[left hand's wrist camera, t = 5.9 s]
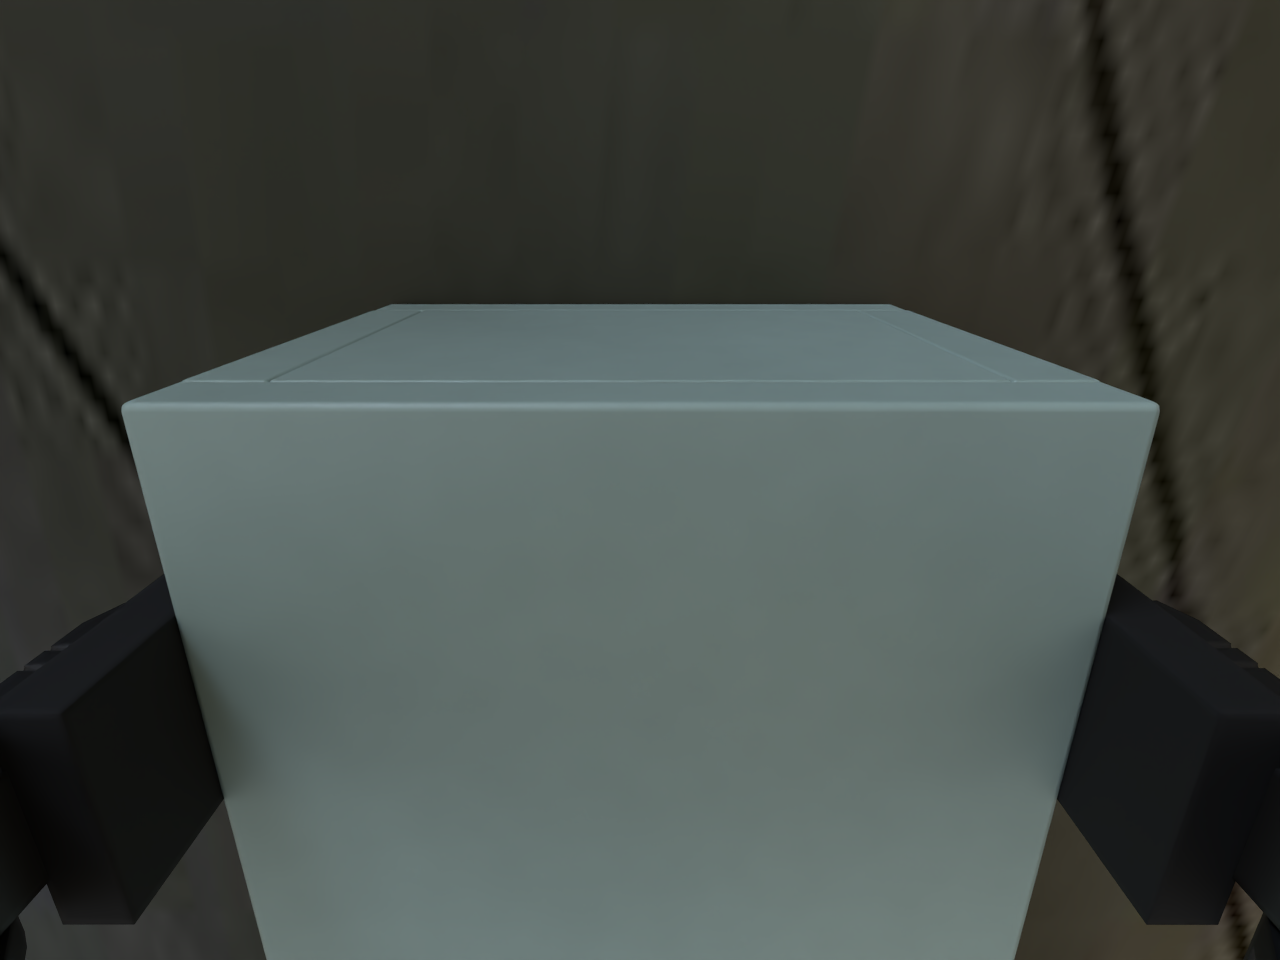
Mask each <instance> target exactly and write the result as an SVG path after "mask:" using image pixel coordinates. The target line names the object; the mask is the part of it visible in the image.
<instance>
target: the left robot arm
mask: <svg viewBox="0 0 1280 960" xmlns="http://www.w3.org/2000/svg"><path fill="white" fill-rule="evenodd" d="M24 667H25V668H24V671H17V672H15V673H14V674H13V675H11V676H10V677H9V678H7V679H6V680H5V681H3V682H2V683H0V960H25V955H26V949H27V944H26V938H25V931H24V929H23V926H22V924H21V922H20V919H19V917H18V915H19V914H20V913H21V912H22V911H23V910H24V909H25V907H26V906H27V905H28V904H29V903H30V902H31V901H32V900H33V898H34V897H35V896H36V895H37V894H38V893H39V892H40V890H41V889H42V888H43V887H44V886H45V885H46V884H47V885H48V888H49V891H50V893H51V896H52V898H53V901H54V903H55V906H56V908H57V911H58V913H59V916H60V918H61V921H62V923H63V924H135V923H136V921H137V920H138V918H139V917H140V916H141V914H142V913H143V911H144V910H145V909H146V907H147V906H148V904H149V903H150V902H151V900H152V899H153V897H154V896H155V895H156V893H157V892H158V890H159V889H160V888H161V886H162V885H163V883H164V882H165V881H166V879H167V878H168V876H169V875H170V873H171V872H172V871H173V869H174V868H175V866H176V865H177V864H178V862H179V861H180V859H181V858H182V857H183V855H184V854H185V852H186V851H187V850H188V848H189V847H190V845H191V844H192V843H193V841H194V840H195V838H196V837H197V836H198V834H199V833H200V831H201V830H202V828H203V827H204V826H205V824H206V823H207V821H208V820H209V819H210V817H211V816H212V814H213V813H214V812H215V810H216V809H217V807H218V806H219V805H220V803H221V802H222V800H223V799H224V796H223V793H222V789H221V785H220V781H219V778H218V774H217V770H216V766H215V763H214V759H213V755H212V751H211V747H210V744H209V740H208V736H207V732H206V729H205V725H204V721H203V717H202V714H201V710H200V706H199V702H198V698H197V695H196V691H195V687H194V683H193V680H192V676H191V672H190V668H189V664H188V661H187V657H186V653H185V649H184V646H183V642H182V638H181V634H180V631H179V627H178V623H177V619H176V615H175V612H174V608H173V604H172V600H171V597H170V593H169V589H168V585H167V582H166V578H165V574H163V575H162V576H161V577H159V578H158V579H157V580H155V581H154V582H153V583H151V584H150V585H149V586H147V587H146V588H145V589H143V590H142V591H141V592H139V593H138V594H137V595H135V596H134V597H133V598H131V599H130V600H129V601H128V602H126V603H124V604H122V605H120V606H117V607H115V608H113V609H111V610H109V611H107V612H105V613H103V614H101V615H98V616H96V617H94V618H92V619H90V620H88V621H86V622H84V623H82V624H81V625H79V626H78V627H77V628H75V629H74V630H73V631H71V632H70V633H69V634H67V635H66V636H64V637H63V638H62V639H60V640H59V641H58V642H56V643H55V644H54V645H52V646H51V651H44V652H43V653H41V654H40V655H39V656H37V657H36V658H34V659H33V660H32V661H30V662H29V663H28V664H26V665H25V666H24ZM1057 799H1058V801H1059V802H1060V803H1061V805H1062V806H1063V808H1064V809H1065V811H1066V812H1067V813H1068V815H1069V816H1070V818H1071V819H1072V820H1073V822H1074V823H1075V825H1076V826H1077V827H1078V829H1079V830H1080V832H1081V833H1082V834H1083V836H1084V837H1085V839H1086V840H1087V841H1088V843H1089V844H1090V846H1091V847H1092V848H1093V850H1094V851H1095V853H1096V854H1097V855H1098V857H1099V858H1100V860H1101V861H1102V863H1103V864H1104V865H1105V867H1106V868H1107V870H1108V871H1109V872H1110V874H1111V875H1112V877H1113V878H1114V879H1115V881H1116V882H1117V884H1118V885H1119V886H1120V888H1121V889H1122V891H1123V892H1124V893H1125V895H1126V896H1127V898H1128V899H1129V900H1130V902H1131V903H1132V905H1133V906H1134V907H1135V909H1136V910H1137V912H1138V913H1139V915H1140V916H1141V917H1142V919H1143V920H1144V922H1145V923H1146V924H1147V925H1218V924H1219V921H1220V918H1221V916H1222V913H1223V911H1224V908H1225V906H1226V903H1227V901H1228V898H1229V896H1230V893H1231V891H1232V888H1233V886H1234V883H1235V881H1236V882H1237V883H1238V884H1239V885H1240V886H1241V888H1242V889H1243V890H1244V891H1245V892H1246V893H1247V894H1248V895H1249V896H1250V898H1251V899H1252V900H1253V901H1254V902H1255V903H1256V904H1257V905H1258V907H1259V908H1260V909H1261V910H1262V911H1263V915H1262V917H1261V919H1260V922H1259V924H1258V926H1257V929H1256V931H1255V934H1254V936H1253V938H1252V941H1251V943H1250V945H1249V948H1248V950H1247V952H1246V955H1245V957H1244V959H1243V960H1280V679H1279V678H1277V677H1276V676H1275V675H1273V674H1272V673H1270V672H1269V671H1268V670H1266V669H1265V668H1258V663H1257V662H1255V661H1254V660H1253V659H1251V658H1250V657H1249V656H1247V655H1246V654H1244V653H1243V652H1242V651H1240V650H1239V649H1238V648H1231V643H1229V642H1228V641H1227V640H1225V639H1224V638H1222V637H1221V636H1220V635H1218V634H1217V633H1216V632H1214V631H1213V630H1211V629H1210V628H1209V627H1207V626H1206V625H1205V624H1203V623H1202V622H1200V621H1199V620H1197V619H1195V618H1193V617H1191V616H1189V615H1187V614H1184V613H1182V612H1180V611H1178V610H1176V609H1174V608H1172V607H1170V606H1167V605H1165V604H1163V603H1161V602H1159V601H1152V600H1151V599H1149V598H1148V597H1147V596H1145V595H1144V594H1143V593H1141V592H1140V591H1139V590H1137V589H1136V588H1135V587H1134V586H1132V585H1131V584H1130V583H1128V582H1127V581H1126V580H1124V579H1123V578H1122V577H1120V576H1119V575H1118V574H1117V575H1116V578H1115V582H1114V586H1113V590H1112V594H1111V597H1110V601H1109V605H1108V609H1107V612H1106V616H1105V620H1104V624H1103V627H1102V631H1101V635H1100V639H1099V642H1098V646H1097V650H1096V654H1095V658H1094V661H1093V665H1092V669H1091V673H1090V676H1089V680H1088V684H1087V688H1086V691H1085V695H1084V699H1083V703H1082V706H1081V710H1080V714H1079V718H1078V721H1077V725H1076V729H1075V733H1074V737H1073V740H1072V744H1071V748H1070V752H1069V755H1068V759H1067V763H1066V767H1065V770H1064V774H1063V778H1062V782H1061V785H1060V789H1059V793H1058V797H1057Z"/></svg>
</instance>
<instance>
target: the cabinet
mask: <svg viewBox="0 0 1280 960" xmlns="http://www.w3.org/2000/svg"><path fill="white" fill-rule="evenodd" d="M1159 413H1160V409H1159V405H1158V404H1157V403H1155V402H1153V401H1150V400H1148V399H1145V398H1142V397H1140V396H1137V395H1134V394H1131V393H1129V392H1126V391H1123V390H1121V389H1118V388H1115V387H1112V386H1110V385H1107V384H1104V383H1102V382H1100V381H1099V380H1096V379H1094V378H1091V377H1088V376H1086V375H1083V374H1080V373H1077V372H1075V371H1072V370H1069V369H1067V368H1064V367H1061V366H1058V365H1056V364H1053V363H1050V362H1047V361H1045V360H1042V359H1039V358H1036V357H1034V356H1031V355H1028V354H1026V353H1023V352H1020V351H1017V350H1015V349H1012V348H1009V347H1006V346H1004V345H1001V344H998V343H995V342H993V341H990V340H987V339H985V338H982V337H979V336H976V335H974V334H971V333H968V332H965V331H963V330H960V329H957V328H955V327H952V326H949V325H946V324H944V323H941V322H938V321H935V320H933V319H930V318H927V317H924V316H922V315H919V314H916V313H914V312H911V311H908V310H904V309H901V308H898V307H895V306H893V305H890V304H391V305H388V306H385V307H383V308H380V309H377V310H373V311H370V312H368V313H365V314H362V315H359V316H357V317H354V318H351V319H349V320H346V321H343V322H340V323H338V324H335V325H332V326H329V327H327V328H324V329H321V330H319V331H316V332H313V333H310V334H308V335H305V336H302V337H299V338H297V339H294V340H291V341H289V342H286V343H283V344H280V345H278V346H275V347H272V348H269V349H267V350H264V351H261V352H259V353H256V354H253V355H250V356H248V357H245V358H242V359H239V360H237V361H234V362H231V363H229V364H226V365H223V366H220V367H218V368H215V369H212V370H209V371H207V372H204V373H201V374H199V375H196V376H193V377H190V378H188V379H185V380H183V381H182V382H179V383H177V384H174V385H171V386H169V387H166V388H163V389H160V390H158V391H155V392H152V393H150V394H147V395H144V396H142V397H139V398H136V399H133V400H131V401H128V402H126V403H124V404H123V406H122V416H123V419H124V423H125V427H126V431H127V434H128V438H129V442H130V446H131V450H132V453H133V457H134V461H135V465H136V468H137V472H138V476H139V480H140V483H141V487H142V491H143V495H144V499H145V502H146V506H147V510H148V514H149V517H150V521H151V525H152V529H153V532H154V536H155V540H156V544H157V548H158V551H159V555H160V559H161V563H162V566H163V570H164V574H165V578H166V582H167V585H168V589H169V593H170V597H171V600H172V604H173V608H174V612H175V615H176V619H177V623H178V627H179V631H180V634H181V638H182V642H183V646H184V649H185V653H186V657H187V661H188V664H189V668H190V672H191V676H192V680H193V683H194V687H195V691H196V695H197V698H198V702H199V706H200V710H201V714H202V717H203V721H204V725H205V729H206V732H207V736H208V740H209V744H210V747H211V751H212V755H213V759H214V763H215V766H216V770H217V774H218V778H219V781H220V785H221V789H222V793H223V796H224V800H225V804H226V808H227V812H228V815H229V819H230V823H231V827H232V830H233V834H234V838H235V842H236V845H237V849H238V853H239V857H240V861H241V864H242V868H243V872H244V876H245V879H246V883H247V887H248V891H249V895H250V898H251V902H252V906H253V910H254V913H255V917H256V921H257V925H258V928H259V932H260V936H261V940H262V944H263V947H264V951H265V955H266V959H267V960H1014V959H1015V955H1016V951H1017V947H1018V944H1019V940H1020V936H1021V932H1022V928H1023V925H1024V921H1025V917H1026V913H1027V910H1028V906H1029V902H1030V898H1031V895H1032V891H1033V887H1034V883H1035V880H1036V876H1037V872H1038V868H1039V864H1040V861H1041V857H1042V853H1043V849H1044V846H1045V842H1046V838H1047V834H1048V831H1049V827H1050V823H1051V819H1052V816H1053V812H1054V808H1055V804H1056V801H1057V797H1058V793H1059V789H1060V785H1061V782H1062V778H1063V774H1064V770H1065V767H1066V763H1067V759H1068V755H1069V752H1070V748H1071V744H1072V740H1073V737H1074V733H1075V729H1076V725H1077V721H1078V718H1079V714H1080V710H1081V706H1082V703H1083V699H1084V695H1085V691H1086V688H1087V684H1088V680H1089V676H1090V673H1091V669H1092V665H1093V661H1094V658H1095V654H1096V650H1097V646H1098V642H1099V639H1100V635H1101V631H1102V627H1103V624H1104V620H1105V616H1106V612H1107V609H1108V605H1109V601H1110V597H1111V594H1112V590H1113V586H1114V582H1115V578H1116V575H1117V571H1118V567H1119V563H1120V560H1121V556H1122V552H1123V548H1124V545H1125V541H1126V537H1127V533H1128V530H1129V526H1130V522H1131V518H1132V515H1133V511H1134V507H1135V503H1136V499H1137V496H1138V492H1139V488H1140V484H1141V481H1142V477H1143V473H1144V469H1145V466H1146V462H1147V458H1148V454H1149V451H1150V447H1151V443H1152V439H1153V435H1154V432H1155V428H1156V424H1157V420H1158V417H1159Z"/></svg>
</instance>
